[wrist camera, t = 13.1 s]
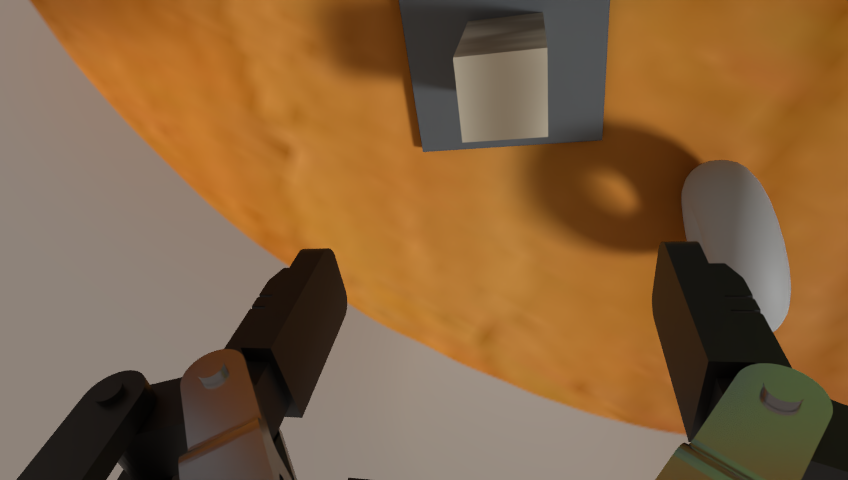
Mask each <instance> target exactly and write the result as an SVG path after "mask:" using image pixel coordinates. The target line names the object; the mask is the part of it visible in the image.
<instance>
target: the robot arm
mask: <svg viewBox="0 0 848 480" xmlns="http://www.w3.org/2000/svg"><path fill="white" fill-rule="evenodd" d="M652 309H653V316H654V321H655V325H656V328H657V332H658V335H659V339H660V342H661V346H662V349H663V353H664V356H665V360H666V363H667V367H668V370H669V374H670V377H671V381H672V385H673V388H674V392H675V395H676V399H677V402H678V406H679V409H680V413H681V416H682V420H683V423H684V427H685V430H686V434H687V437H688V441H689V442H691V443H690V444H689V445H688V444H686V443H683V444H681V445H680V446H679V447H678V448H677V450H676V451H675V453H674V454H673V455H672V457H671V458H670V459H669V461H668V462H667V464H666V465H665V467H664V468H663V470H662V471H661V472H660V474H659V475H658V477H657V478H656V480H848V406H847V405H844V404H841V403H838V402H836V401H833V400H831V399H830V398H829V396H828V394H827V393H826V392H825V390H824V389H823V388H822V387H821V386H820V385H819V384H818V383H817V382H815V381H814V380H813V379H811V378H810V377H808V376H807V375H805V374H803V373H801V372H799V371H797V370H795V369H792V367H791V365H790V363H789V362H788V360H787V358H786V356H785V354H784V352H783V350H782V349H781V347H780V345H779V343H778V341H777V339H776V337H775V336H774V334H773V332H772V330H771V328H770V326H769V324H768V323H767V321H766V319H765V317H764V315H763V314H761V309H760V308H759V306H758V304H757V302H756V300H755V299H753V295H752V293H751V291H750V289H749V287H748V285H747V283H746V282H745V280H744V278H743V277H742V276H740V275H739V274H738V273H737V272H735V271H734V270H733V269H732V268H730V267H729V266H728V265H727V264H725V263H709V262H708V260H707V258H706V256H705V254H704V252H703V249H702V247H701V245H700V243H699V242H697V241H684V242H661V243H660V246H659V250H658V257H657V264H656V271H655V278H654V286H653V293H652ZM346 310H347V295H346V291H345V287H344V284H343V281H342V277H341V274H340V271H339V268H338V264H337V261H336V258H335V255H334V253H333V251H332V250H331V249H329V248H328V249H302V250H301V251H300V252H299V253H298V255H297V256H296V258H295V260H294V261H293V263H292V264H291V266H290V268H283V269H282V270H281V271H280V272H279V273H277V274H276V275H275V276H273V277H272V278H271V279H270V280H269V281H268V282H267V284H266V285H265V287H264V288H263V290H262V292H261V293H260V297H258V298H257V299H256V301H255V302H254V304H253V306H252V309H250V310H249V311H248V313H247V314H246V316H245V318H244V319H243V321H242V322H241V324H240V325H239V327H238V328H237V330H236V331H235V333H234V334H233V336H232V338H231V339H230V341H229V342H228V344H227V345H226V347H225V348H224V349H222V350H217V351H214V352H211V353H208V354H206V355H204V356H203V357H201V358H199V359H198V360H197V361H195V362H194V363H193V364H192V365H191V366H190V367H189V368H188V369H187V370H186V372H185V373H184V375H183V377H181V378H177V379H173V380H169V381H164V382H160V383H156V384H152V385H150V384H149V383H148V381H147V380H146V378H145V377H144V375H143V374H142V373H140V372H138V371H132V370H129V371H122V372H118V373H116V374H113V375H111V376H108V377H107V378H105V379H103V380H102V381H100V382H98V383H97V384H96V385H94V386H93V387H92V388H91V389H90V390H89V391H88V392H87V393H86V394H85V395H84V396H83V397H82V399H81V400H80V401H79V402H78V404H77V405H76V406H75V407H74V408H73V410H72V411H71V412H70V414H69V415H68V416H67V417H66V419H65V420H64V421H63V422H62V423H61V425H60V426H59V427H58V428H57V430H56V431H55V432H54V434H53V435H52V436H51V437H50V438H49V440H48V441H47V442H46V444H45V445H44V446H43V447H42V448H41V450H40V451H39V452H38V454H37V455H36V456H35V457H34V459H33V460H32V461H31V462H30V464H29V465H28V466H27V467H26V469H25V470H24V471H23V472H22V474H21V475H20V476H19V477H18V478H17V480H106V479H107V478H108V476H109V475H110V473H111V472H112V470H113V469H114V467H115V465H116V464H117V462H118V463H119V464H120V466H121V467H122V468H123V469H124V470H123V471H122V473H121V474H120V476H119V478H118V479H117V480H297V478H296V475H295V472H294V469H293V466H292V463H291V459H290V456H289V453H288V450H287V447H286V444H285V441H284V438H283V435H282V432H281V430H280V428H279V427H280V425H281V423H282V421H283V418H284V417H300V418H302V417H303V414H304V412H305V410H306V407H307V405H308V403H309V400H310V398H311V395H312V393H313V391H314V388H315V386H316V384H317V381H318V379H319V376H320V374H321V372H322V369H323V367H324V365H325V362H326V360H327V358H328V355H329V353H330V351H331V348H332V346H333V343H334V341H335V339H336V336H337V334H338V332H339V329H340V327H341V325H342V322H343V320H344V317H345V315H346ZM348 480H368V479H356V478H348Z"/></svg>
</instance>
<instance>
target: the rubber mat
mask: <svg viewBox="0 0 848 480" xmlns="http://www.w3.org/2000/svg"><path fill="white" fill-rule="evenodd" d="M399 5H400V11H401V17H402V24H403V30H404V36H405V42H406V49H407V55H408V61H409V67H410V74H411V80H412V86H413V92H414V99H415V105H416V111H417V117H418V123H419V130H420V136H421V142H422V148H423V152H429V151H444V150H459V149H475V148H490V147H505V146H521V145H536V144H551V143H566V142H582V141H597V140H602V133H603V115H604V97H605V79H606V61H607V43H608V25H609V7H610V0H399ZM542 12H543V16H544V24H545V32H546V40H547V59H548V137H538V138H523V139H509V140H494V141H479V142H464V143H462V135H461V126H460V117H459V108H458V99H457V90H456V81H455V72H454V63H453V56H454V54H455V52H456V49H457V47H458V44H459V42H460V39H461V37H462V35H463V32H464V30H465V27H466V25H467V23H468V21H476V20H484V19H492V18H500V17H509V16H517V15H525V14H534V13H542Z"/></svg>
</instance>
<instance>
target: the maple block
mask: <svg viewBox="0 0 848 480" xmlns="http://www.w3.org/2000/svg"><path fill="white" fill-rule="evenodd" d="M453 63H454V72H455V81H456V90H457V99H458V108H459V117H460V126H461V135H462V143H464V142H479V141H494V140H509V139H523V138H538V137H548V59H547V40H546V32H545V24H544V16H543V12H542V13H534V14H525V15H517V16H509V17H500V18H492V19H484V20H476V21H468V23H467V25H466V27H465V30H464V32H463V35H462V37H461V39H460V42H459V44H458V47H457V49H456V52H455V54H454V56H453Z"/></svg>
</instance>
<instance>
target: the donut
mask: <svg viewBox="0 0 848 480" xmlns="http://www.w3.org/2000/svg"><path fill="white" fill-rule="evenodd" d="M681 203H682V213H683V222H684V228H685V234H686V239H687V241H697V242H699V243H700V245H701V247H702V249H703V252H704V254H705V256H706V258H707V260H708V262H709V263H725V264H727V265H728V266H729V267H730V268H732V269H733V270H734V271H735V272H737V273H738V274H739V275H740V276H742V277H743V278H744V280H745V282H746V283H747V285H748V287H749V289H750V291H751V293H752V295H753V299H755V300H756V302H757V304H758V306H759V308H760V309H761V314H763V315H764V317H765V319H766V321H767V323H768V324H769V326H770V328H771V330H772V332H774V331H775V330H777V329H778V328H779V326H780V325H781V324H782V322H783V321H784V319H785V317H786V315H787V313H788V309H789V305H790V294H791V282H790V270H789V264H788V258H787V253H786V248H785V243H784V240H783V236H782V233H781V229H780V226H779V223H778V219H777V217H776V214H775V212H774V209H773V207H772V204H771V202H770V199H769V197H768V195H767V194H766V192H765V190H764V188H763V187H762V185H761V183H760V182H759V181H758V180H757V178H756V177H755V176H754V175H753V174H752V173H751V172H750V171H749V170H748V169H747V168H746V167H744V166H743V165H741V164H739V163H737V162H733V161H727V160H715V161H708V162H706V163H703V164H700V165H699V166H697V167H696V168H695V169H693V170H692V171H691V172H690V174H689V175H688V176H687V178H686V180H685V183H684V186H683V189H682V193H681Z"/></svg>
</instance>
